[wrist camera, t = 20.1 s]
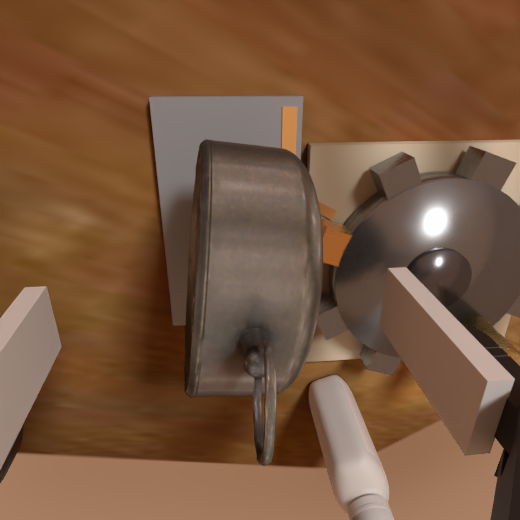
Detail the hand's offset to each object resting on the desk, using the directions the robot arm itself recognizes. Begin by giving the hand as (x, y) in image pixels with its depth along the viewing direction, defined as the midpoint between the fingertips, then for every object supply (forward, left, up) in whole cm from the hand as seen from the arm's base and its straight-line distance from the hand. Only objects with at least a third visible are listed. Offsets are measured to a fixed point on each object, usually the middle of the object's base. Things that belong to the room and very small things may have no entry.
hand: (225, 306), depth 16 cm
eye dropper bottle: (+8, -15, -10) cm, 20 cm away
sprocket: (+12, -3, -9) cm, 15 cm away
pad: (0, 0, -10) cm, 10 cm away
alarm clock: (+1, 0, -9) cm, 9 cm away
